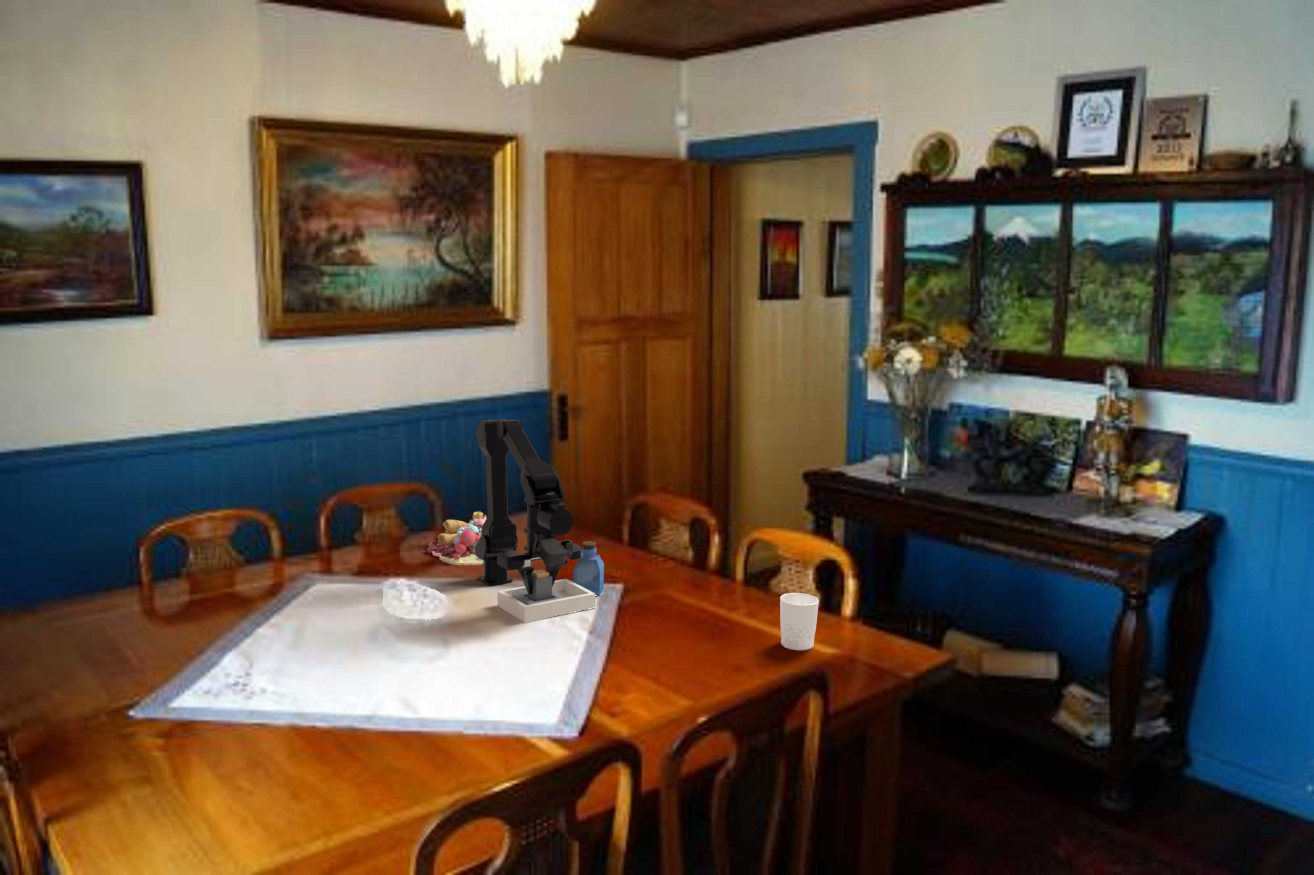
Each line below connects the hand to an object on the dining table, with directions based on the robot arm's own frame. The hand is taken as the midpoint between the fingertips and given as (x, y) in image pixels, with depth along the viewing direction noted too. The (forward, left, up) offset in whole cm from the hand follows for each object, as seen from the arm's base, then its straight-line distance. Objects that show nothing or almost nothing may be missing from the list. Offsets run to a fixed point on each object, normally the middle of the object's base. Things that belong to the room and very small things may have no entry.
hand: (539, 592), depth 236 cm
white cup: (+47, +35, -4) cm, 59 cm away
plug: (0, 0, -3) cm, 3 cm away
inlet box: (0, +2, -4) cm, 4 cm away
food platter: (-50, +8, -5) cm, 51 cm away
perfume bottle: (-5, +16, -4) cm, 17 cm away
